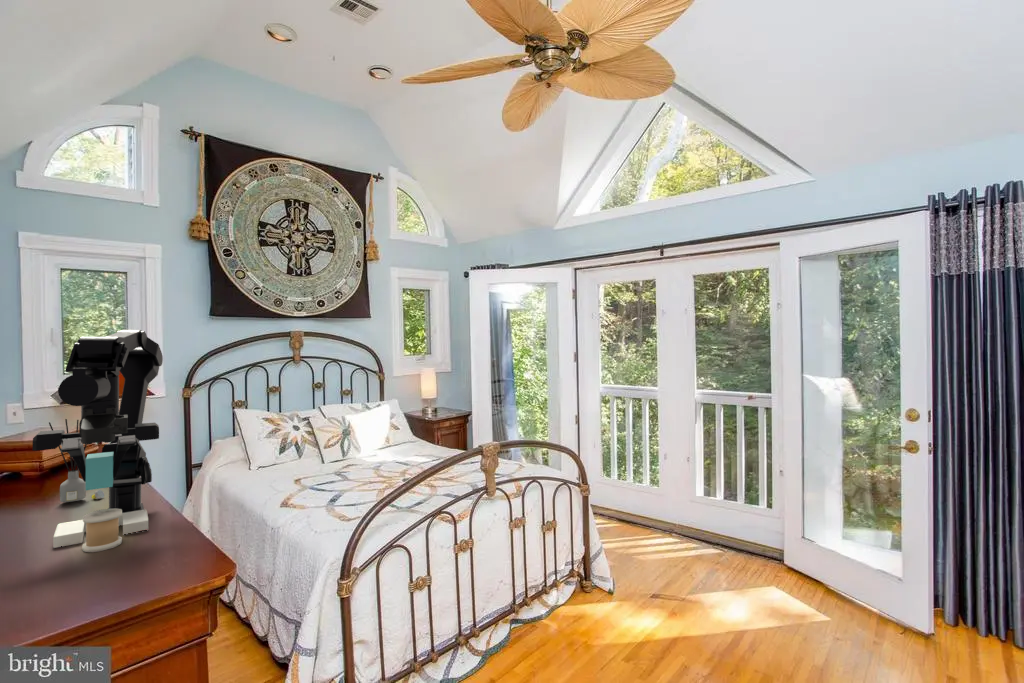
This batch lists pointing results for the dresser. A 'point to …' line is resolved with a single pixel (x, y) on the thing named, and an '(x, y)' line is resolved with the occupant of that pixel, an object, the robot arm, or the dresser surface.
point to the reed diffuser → (74, 482)
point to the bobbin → (102, 530)
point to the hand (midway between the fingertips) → (100, 479)
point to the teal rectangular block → (99, 470)
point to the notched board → (75, 529)
